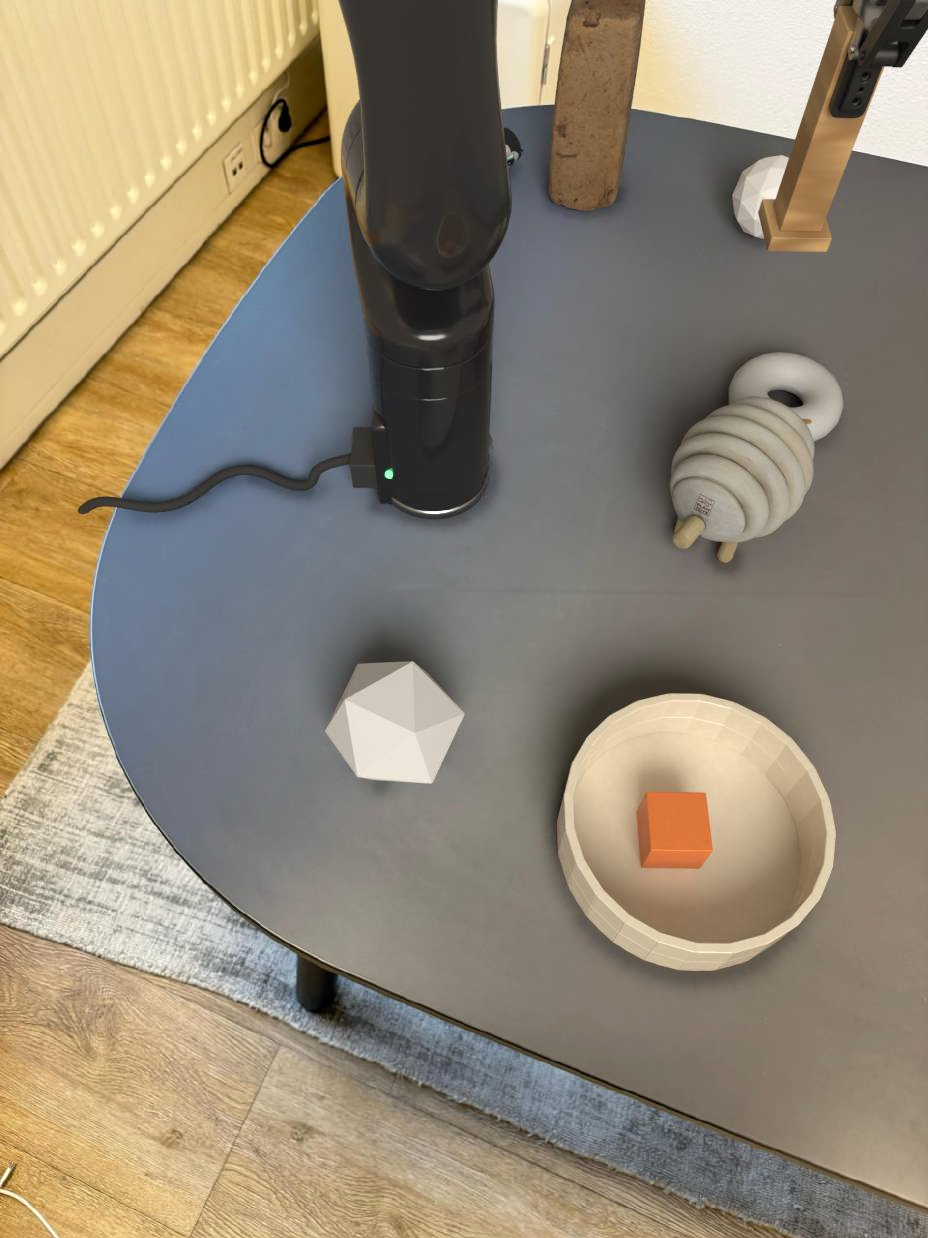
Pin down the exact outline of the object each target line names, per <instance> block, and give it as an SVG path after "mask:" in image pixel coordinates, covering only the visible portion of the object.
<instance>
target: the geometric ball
mask: <svg viewBox="0 0 928 1238" xmlns="http://www.w3.org/2000/svg"><path fill="white" fill-rule="evenodd" d="M788 159H789V157H788V156H785V155H783V154H780V155H773V156H767V157H763V158H760V159H758V160H757V161H756V162H754V163H753V164H752V165H749V167H747V168H745V169H744V170H742V172H741V174H740V176H739V179H738V181H737V182H736V183H737V184H736V186H735V188H734V190H733V193H732V195H731V198H732V207H733V214H734V216H735V219H736V221H737V223H738V225H739V226H740V228H741V229H742V232H744V233H746V234H748V235H750V236H753V237H755V238H758V239H762V240H765V239H764V235H763V231H762V227H761V223H760V219H759V214H758V211H759V208H760V205H761V202H762V199H776V196H777V193H778V190H779V187H780V184H781V181H782V178H783V175H784V172H785V169H786V166H787V163H788Z"/></svg>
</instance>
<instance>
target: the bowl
mask: <svg viewBox="0 0 928 1238" xmlns="http://www.w3.org/2000/svg"><path fill="white" fill-rule="evenodd" d="M646 792H701V793H706V798H707V806H708V815H709V823H710V831H711V840H712V848H713V851H712V853H711V854H710V855H709V857H708V858H707V859H706V861H705V862H704V863H703V865H702V866H701V867H700V869H681V868H641V860H640V848H639V835H638V823H637V810H638V808H639V806H640V804H641V802H642V800H643V797H644V795H645V793H646ZM556 835H557V838H556V839H557V840H556V841H557V854H558V859H559V863H560V865H561V869H562V872H563V875H564V879H565V881H566V884H567V887H568V889H569V891H570V892H571V894H572V895H573V897H574V899H575V902H576V903H577V904H578V905H579V908H580V909H581V910H582V912H583V914H584V915H585V917H586V918H587V919H588V920H589V921H590V922H591V923H593V925H594V926H596V928H597V929H598V930H599V931H600V932H601V933H602V934H603V935H604V936H605V937H607V938H608V939H609V941H611V942H612V943H613V944H615V945H617V946H619V947H620V948H622V949H623V950H625V951H626V952H628V953H630V954H631V955H634V956H635V957H637V958H638V959H641V960H643V961H645V962H649V963H651V964H655V965H658V966H660V967H665V968H670V969H673V970H675V971H692V972H693V971H694V972H695V971H696V972H698V971H699V972H700V971H701V972H702V971H704V972H705V971H708V972H709V971H710V972H712V971H717V970H721V969H724V968H729V967H730V968H731V967H732V966H735V965H739V964H743V963H746V962H748V961H750V960H751V959H753V958H754V957H756V956H758V955H759V954H761V953H762V952H764V951H766V950H767V949H769V948H770V947H773V946H774V945H775V944H776V943H777V942H779V941H780V940H781V939H783V938H784V937H785V936H786V935H787V934H789V933H790V932H791V931H793V930H794V929H795V928H796V927H797V926H799V925H800V924H801V923H802V921H804V919H805V918H806V917H807V916H808V914H809V913H810V912H811V910H813V908H814V907H815V906H816V905H817V904H818V903H819V901H820V900H821V899H822V896H823V893H824V891H825V889H826V886H827V884H828V881H829V878H830V877H831V874H832V871H833V869H834V868H833V867H834V861H835V860H834V858H835V849H836V839H837V831H836V825H835V820H834V814H833V809H832V804H831V800H830V797H829V794H828V793H827V790H826V788H825V785H824V783H823V782H822V780H821V778H820V775H819V773H818V771H817V768H816V767H815V765H814V764H813V763H812V762H811V761H810V759H809V758H808V757H807V755H806V754H805V753H804V752H803V750H802V749H801V748H800V746H799V745H798V744H797V743H796V741H794V739H793V738H792V737H790V736H789V735H788V734H787V733H786V732H785V731H783V730H782V729H781V728H780V727H778V726H777V725H776V724H774V722H772V721H771V720H769V719H768V718H767V717H765V716H764V715H761V714H760V713H757V712H755V711H754V710H752V709H750V708H748V707H745V706H744V705H742V704H740V703H737V702H734V701H733V700H729V699H724V698H720V697H716V696H712V695H708V694H704V693H675V692H670V693H664V694H660V695H655V696H651V697H647V698H643V699H638V700H636V701H633V702H632V703H630V704H628V705H625V706H624V707H622V708H621V709H618V710H617V711H615V712H613V713H611V714H610V715H608V716H607V717H606V718H605V719H604V720H603V721H601V723H600V724H599V725H597V726H596V728H595V729H593V730H592V732H590V733H589V735H587V737H585V740H584V741H583V742H582V744H581V746H580V748H579V750H578V752H577V754H576V755H575V757H574V759H573V760H572V762H571V764H570V768H569V771H568V776H567V779H566V783H565V787H564V791H563V795H562V799H561V803H560V807H559V812H558V816H557V820H556Z"/></svg>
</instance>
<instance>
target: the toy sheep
mask: <svg viewBox="0 0 928 1238" xmlns="http://www.w3.org/2000/svg"><path fill="white" fill-rule="evenodd" d="M789 407H790V406H787V405H786V404H784V403H782V402H780V401H778V400H775V399H773V398H770V399H769V398H765V397H756V396H752V397H744V398H741V399H738V400H736V401H734V402H732V403H731V404H729V403H728V405H725V406H721V407H719V408H717V409H715V410H713V411H712V412H711V413H710V414H708V415H707V416H706V417H705V418H704V419H702V420H700V421H698V422H696V423H695V424H693V426H691V427H690V428H689V430H687V432H686V433H685V434H684V436H683V439H682V441H681V443H680V445H679V447H678V448H677V450H676V451H675V453H674V455H673V458H672V462H671V466H670V480H669V491H670V496H671V500H672V505H673V509H674V511H675V513H676V515H677V519H676V523H675V526H674V529H673V532H674V533H673V535H672V542H673V544H674V545H675V546H676V547H677V548H679V549H682V550H687V549H689V548H690V547H691V546H692V545H693V544H694V542H695V541H696V540H697V539H698V538H699V536H700V537H701V538H703V539H705V540H708V541H713V542H720V545H719V548H718V550H717V553H716V557H717V558H718V559H717V560H718V561H720V562H722V563H729V562H731V561H732V559H733V558H734V555H735V553H736V550H737V547H738V545H739V543H744V542H747V541H751V540H752V539H757V538H763V537H766V536H767V535H770V534H772V533H775V531H776V530H778V529H779V528H780V527H781V526H782V524H783V523H784V522H786V521H788V520H789V519H790V518H792V517H793V516H795V514H796V513H797V512H798V511H799V509H800V508H801V506H802V504H803V502H804V498H805V495H806V494H807V492H808V491H809V489H810V488H811V486H812V483H813V480H814V474H815V473H814V471H815V469H814V462H813V461H814V457H815V452H816V451H815V441H814V440H813V437H812V434H811V432H810V430H809V428H808V426H807V424H810V423H812V421H811V420H810V419H802V418H801V417H800V416H799V415H798V414H797V413H796V412H794V411H793V410H792V409H791V408H792V407H790V408H789Z"/></svg>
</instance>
